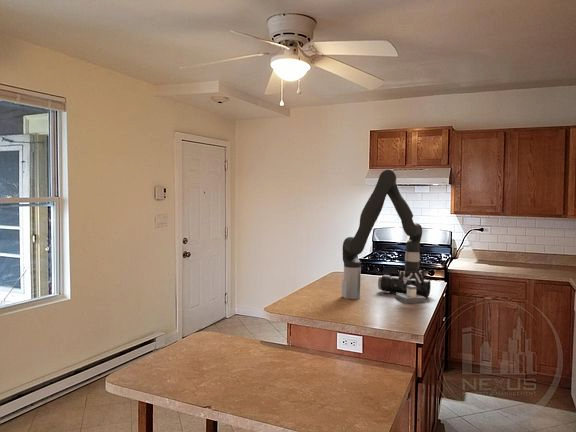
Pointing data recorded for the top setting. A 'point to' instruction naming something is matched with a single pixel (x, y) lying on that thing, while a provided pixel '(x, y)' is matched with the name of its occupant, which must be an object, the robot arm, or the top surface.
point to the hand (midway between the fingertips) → (410, 289)
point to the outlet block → (410, 298)
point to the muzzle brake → (395, 286)
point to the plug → (411, 291)
